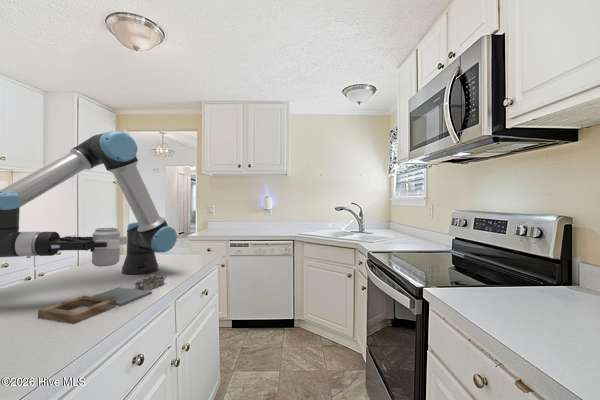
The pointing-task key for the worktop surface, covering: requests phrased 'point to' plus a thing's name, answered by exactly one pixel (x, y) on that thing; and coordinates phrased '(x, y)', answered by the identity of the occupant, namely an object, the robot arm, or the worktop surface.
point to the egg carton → (149, 282)
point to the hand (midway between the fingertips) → (123, 242)
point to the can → (105, 255)
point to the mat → (123, 295)
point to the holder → (62, 313)
